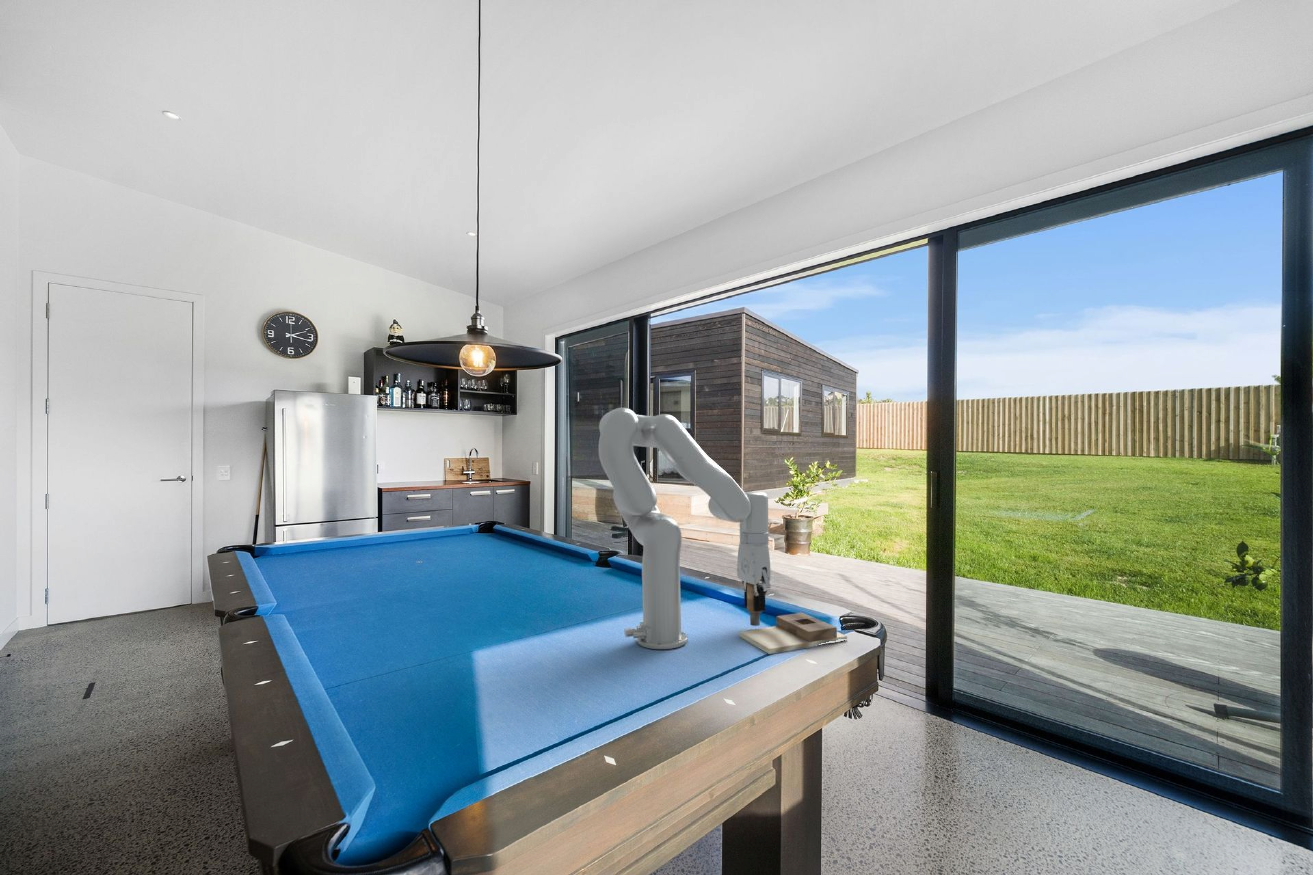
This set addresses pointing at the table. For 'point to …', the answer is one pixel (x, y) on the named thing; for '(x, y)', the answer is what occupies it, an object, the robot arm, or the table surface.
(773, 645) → the subfloor panel
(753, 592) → the tan rounded cylinder
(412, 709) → the table surface
